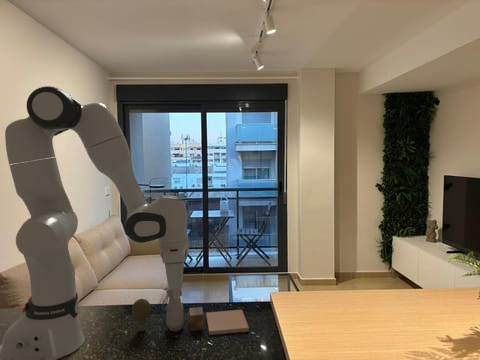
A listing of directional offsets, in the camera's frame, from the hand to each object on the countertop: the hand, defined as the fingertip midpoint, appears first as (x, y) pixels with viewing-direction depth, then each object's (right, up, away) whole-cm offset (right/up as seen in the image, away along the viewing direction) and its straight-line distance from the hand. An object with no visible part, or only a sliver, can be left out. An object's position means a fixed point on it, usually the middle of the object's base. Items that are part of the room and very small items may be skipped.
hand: (176, 292), depth 111 cm
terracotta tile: (+15, -11, +4) cm, 19 cm away
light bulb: (-10, -12, -1) cm, 16 cm away
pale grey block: (-2, -11, +10) cm, 15 cm away
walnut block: (+6, -11, +2) cm, 13 cm away
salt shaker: (-1, -12, +1) cm, 12 cm away
